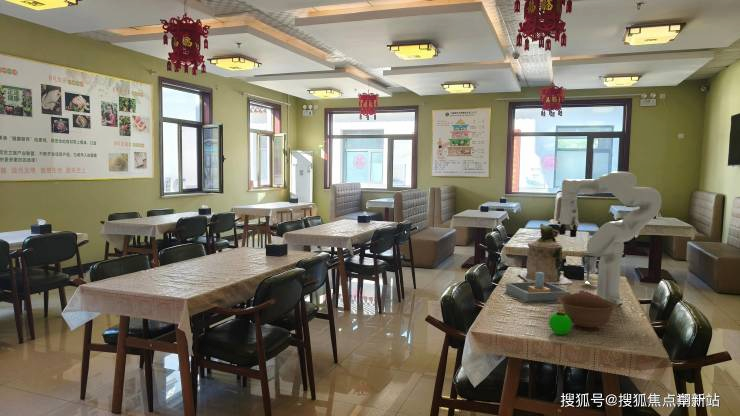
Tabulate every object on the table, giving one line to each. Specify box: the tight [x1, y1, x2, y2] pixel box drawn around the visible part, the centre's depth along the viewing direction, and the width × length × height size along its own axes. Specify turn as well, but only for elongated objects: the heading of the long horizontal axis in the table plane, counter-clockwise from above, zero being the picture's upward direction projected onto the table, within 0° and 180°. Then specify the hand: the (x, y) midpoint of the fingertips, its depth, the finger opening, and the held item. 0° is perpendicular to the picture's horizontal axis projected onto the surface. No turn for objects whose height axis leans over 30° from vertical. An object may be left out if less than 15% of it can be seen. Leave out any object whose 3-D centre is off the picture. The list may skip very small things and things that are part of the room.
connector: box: [535, 272, 544, 289], centre depth 249 cm, size 4×4×10 cm
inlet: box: [528, 286, 550, 293], centre depth 249 cm, size 8×8×2 cm
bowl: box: [558, 293, 619, 332], centre depth 197 cm, size 22×22×11 cm
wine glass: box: [580, 254, 598, 285], centre depth 278 cm, size 8×8×15 cm
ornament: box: [548, 307, 573, 336], centre depth 188 cm, size 8×8×10 cm
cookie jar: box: [517, 223, 573, 286], centre depth 284 cm, size 25×25×32 cm
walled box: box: [505, 281, 571, 304], centre depth 246 cm, size 22×22×4 cm
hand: (567, 235), depth 260 cm, fingers open, 9 cm apart
